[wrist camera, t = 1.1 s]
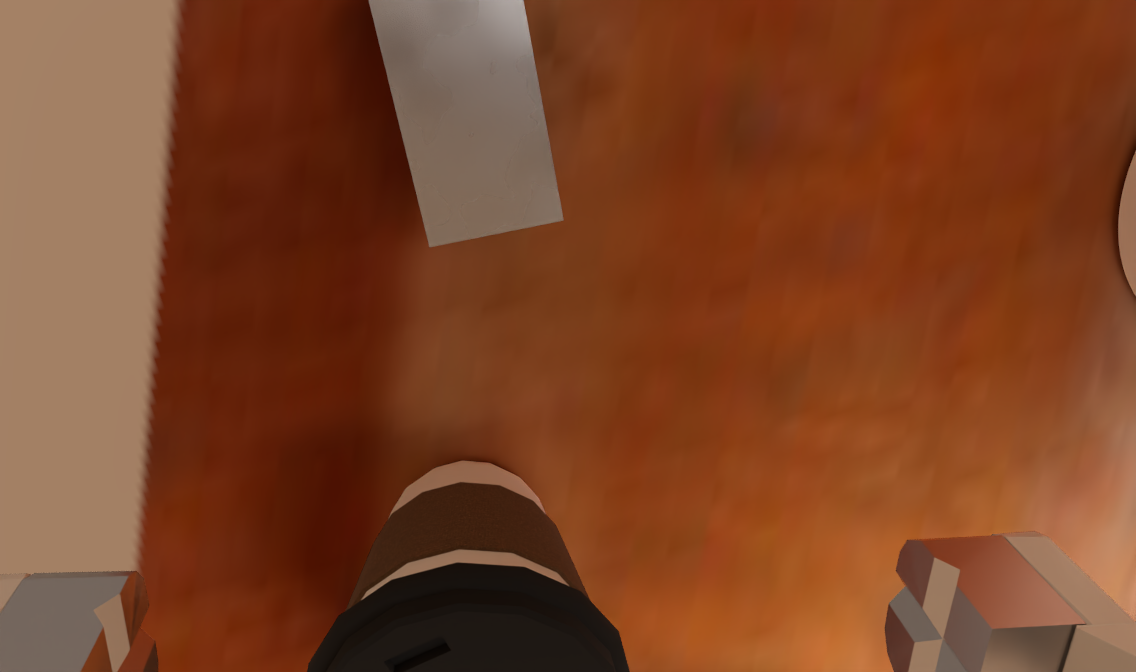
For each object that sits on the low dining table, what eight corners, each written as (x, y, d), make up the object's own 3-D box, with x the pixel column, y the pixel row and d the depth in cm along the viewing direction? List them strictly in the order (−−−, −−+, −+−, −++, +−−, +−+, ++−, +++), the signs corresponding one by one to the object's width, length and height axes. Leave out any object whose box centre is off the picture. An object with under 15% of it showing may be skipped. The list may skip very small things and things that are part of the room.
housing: (508, -42, 32) (516, -39, 28) (549, 183, 36) (564, 222, 31) (380, -18, 32) (366, -10, 27) (434, 207, 35) (429, 248, 31)
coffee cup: (291, 476, 39) (226, 685, 28) (526, 366, 38) (553, 538, 27) (416, 654, 43) (402, 896, 32) (629, 559, 43) (689, 774, 32)
